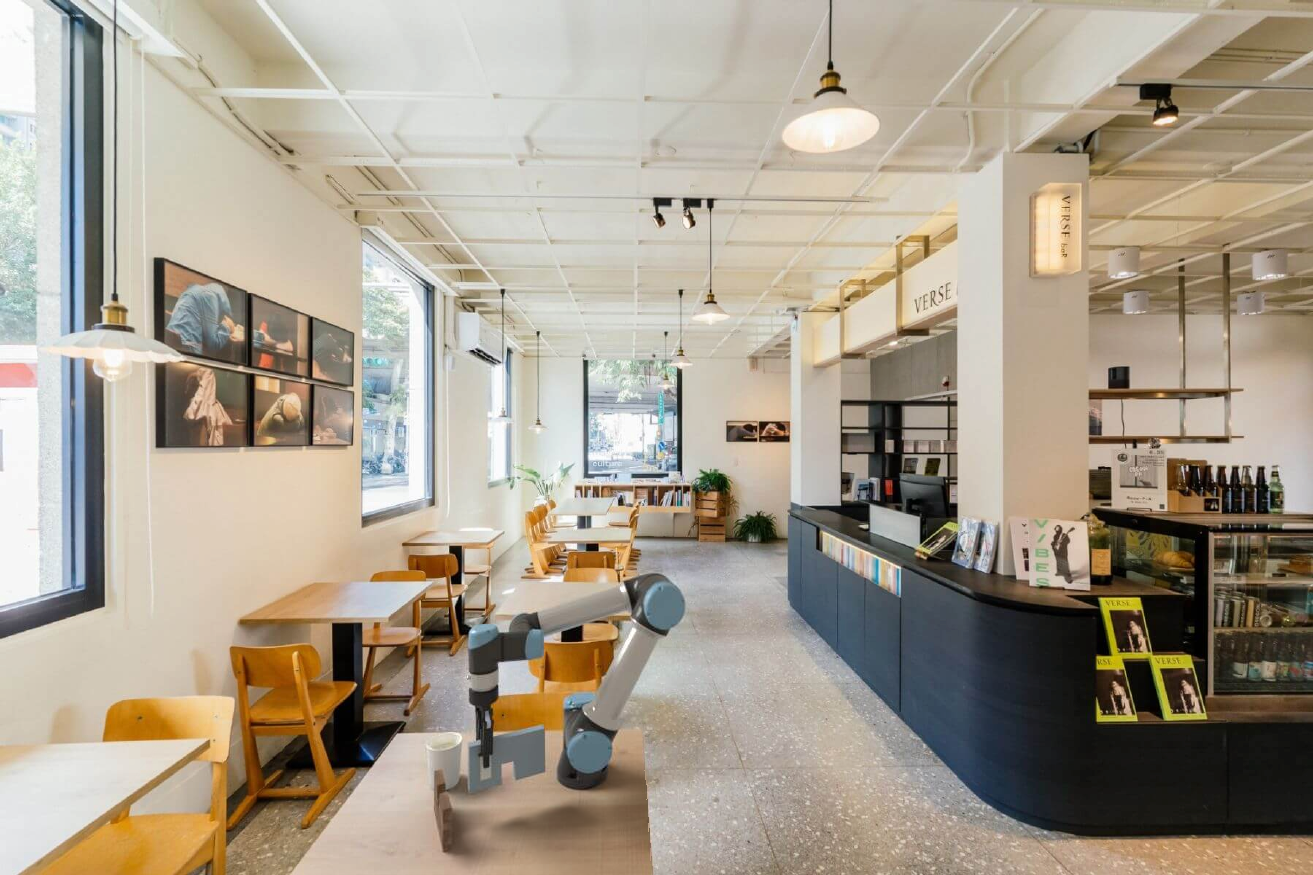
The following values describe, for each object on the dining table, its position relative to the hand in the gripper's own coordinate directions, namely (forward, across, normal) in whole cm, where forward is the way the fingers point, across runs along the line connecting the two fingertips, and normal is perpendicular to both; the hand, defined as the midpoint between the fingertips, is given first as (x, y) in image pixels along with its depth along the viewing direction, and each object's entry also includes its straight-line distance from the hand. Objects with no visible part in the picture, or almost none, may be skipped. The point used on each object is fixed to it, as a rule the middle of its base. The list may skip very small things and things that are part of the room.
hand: (484, 774), depth 150 cm
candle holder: (+11, -20, -8) cm, 24 cm away
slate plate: (+3, 0, +6) cm, 7 cm away
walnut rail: (+11, 0, -11) cm, 15 cm away
